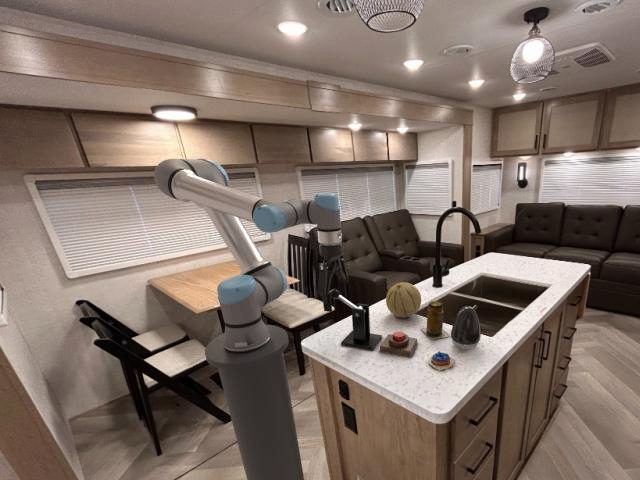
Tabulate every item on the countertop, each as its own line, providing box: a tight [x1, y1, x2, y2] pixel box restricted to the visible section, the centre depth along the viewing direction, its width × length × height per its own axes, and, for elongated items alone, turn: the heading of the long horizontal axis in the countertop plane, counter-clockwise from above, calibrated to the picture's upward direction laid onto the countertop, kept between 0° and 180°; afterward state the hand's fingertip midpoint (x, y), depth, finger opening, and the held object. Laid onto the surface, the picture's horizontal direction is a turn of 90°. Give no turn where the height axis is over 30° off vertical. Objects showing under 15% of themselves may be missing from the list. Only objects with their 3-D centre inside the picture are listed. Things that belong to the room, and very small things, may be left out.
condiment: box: [421, 300, 449, 340], centre depth 120 cm, size 7×8×12 cm
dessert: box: [428, 350, 454, 371], centre depth 103 cm, size 8×7×6 cm
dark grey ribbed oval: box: [450, 304, 482, 351], centre depth 110 cm, size 10×10×15 cm
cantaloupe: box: [385, 281, 422, 318], centre depth 133 cm, size 15×15×15 cm
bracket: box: [340, 303, 383, 351], centre depth 114 cm, size 12×9×14 cm
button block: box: [379, 333, 418, 357], centre depth 112 cm, size 11×9×4 cm
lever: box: [329, 288, 366, 312], centre depth 112 cm, size 14×4×4 cm
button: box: [392, 330, 406, 341], centre depth 111 cm, size 4×4×2 cm
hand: (335, 304), depth 114 cm, fingers open, 10 cm apart
